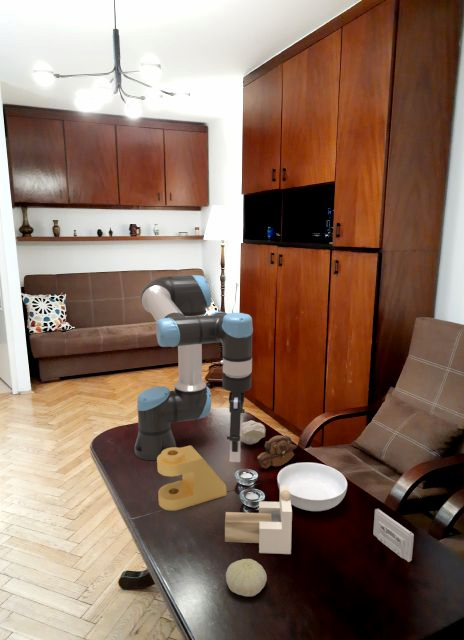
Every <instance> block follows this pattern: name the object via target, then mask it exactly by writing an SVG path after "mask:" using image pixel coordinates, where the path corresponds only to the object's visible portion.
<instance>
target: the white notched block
mask: <svg viewBox="0 0 464 640" xmlns="http://www.w3.org/2000/svg"><path fill="white" fill-rule="evenodd" d="M290 497H291V494H290V492H289V486H280V490H279V501H258V513H269V514H271V512H279V521H280V522H262V521H259V543H258V549H259V550H258V553H259V554H276V555H277V554H278V555H279V554H280V555H281V554H282V555H292V527H293V525H292V521H293V509H292V504H291V500H290Z"/></svg>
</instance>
